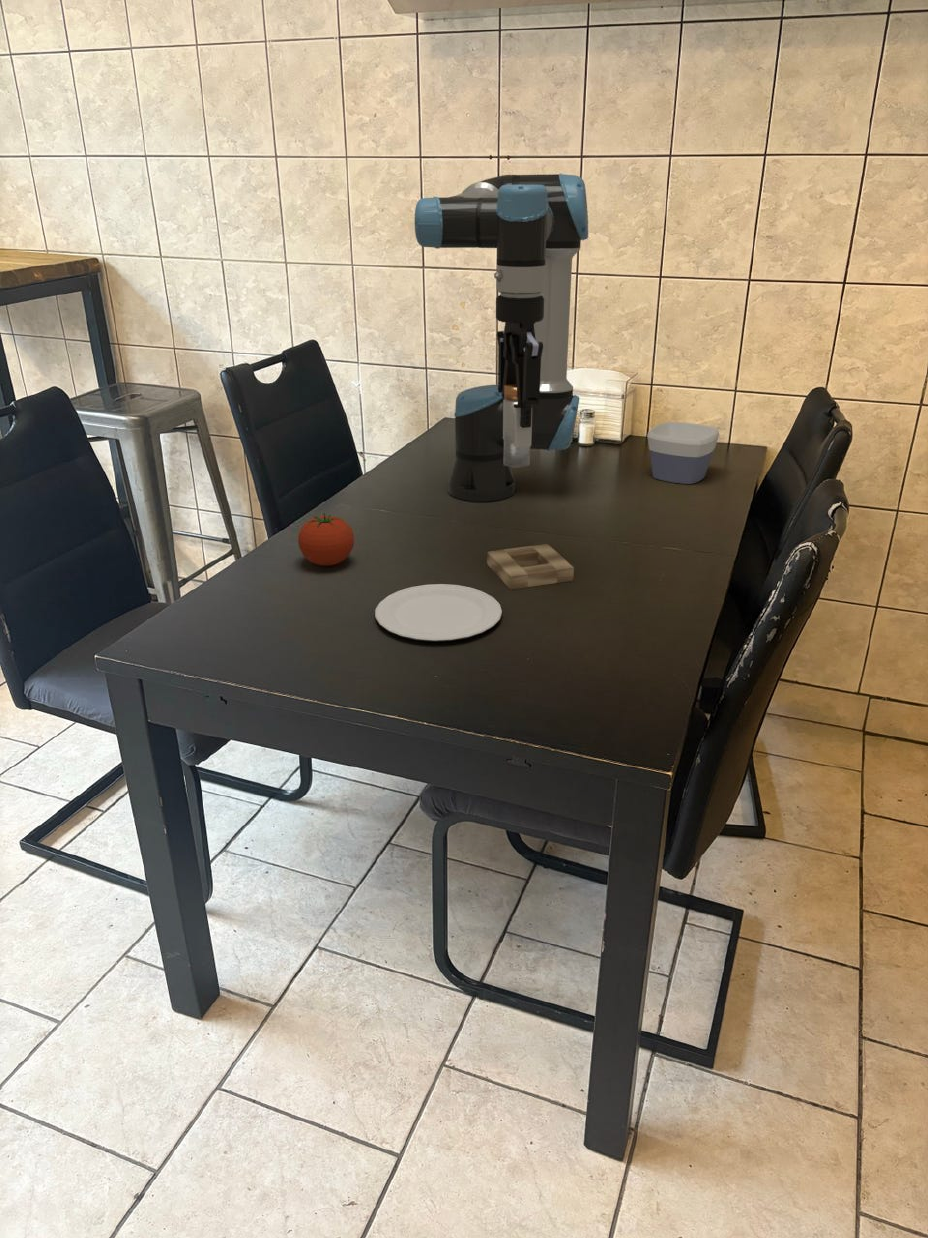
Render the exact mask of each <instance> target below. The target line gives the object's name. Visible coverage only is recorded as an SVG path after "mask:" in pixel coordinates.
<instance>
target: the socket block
mask: <svg viewBox="0 0 928 1238" xmlns="http://www.w3.org/2000/svg"><path fill="white" fill-rule="evenodd" d="M486 554H487V556H486V557H487V559H486V560H487V561H486V563H487V565H488V566H489V568H490V569H491V570H492V571H493V572H494V573H495V575H496V576H497V577H498V578H499V579H500V580H501V581H502V582H503V583H504V584H505V586H507V588H508V589H509V590H517V589H518V590H519V589H525V588H532V587H537V586H538V587H539V586H546V585H551V584H558V583H566V582H572V581H574V573H575V566H573V565H572V564H571V563H569V562H568V561H567V560H566V559H565V558H564V557H563V556H561V554H559V552H557V551H556V550H555V549H554V548H552V546H550V545H549V544H548V543H544V544H537V545H535V544H534V545H529V546H520V547H513V548H504V549H499V550H491V551H487V553H486Z"/></svg>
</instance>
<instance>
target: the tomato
mask: <svg viewBox="0 0 928 1238" xmlns="http://www.w3.org/2000/svg"><path fill="white" fill-rule="evenodd" d="M297 542H298V543H297V544H298V547H299V549H300V552H301V553H302V555H303V556H304V558H306V559H307V560H308V561H309V562H311V563H313V564H315V565H317V566H318V565H319V566H322V567H324V566H325V567H327V566H328V567H329V566H334V565H338V564H339V563H342V562H343V561H344V560H346V559H347V558H348V557H349V556H350V554H351V552H352V550H353V548H354V545H355V543H354V542H355V536H354V531H353V530H352V528H351V526H350V525H349V523H348V522H346V521H345V520H344V519H343V518H341V517H338V516H335V515H331V514H326V513H325V512H323V515H320V516H319V515H315V516H313V517H311V518H310V519H308V520H307V521H306V522H305V523H304V524H303V525H302V526H301V528H300V530H299V534H298V537H297Z"/></svg>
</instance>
